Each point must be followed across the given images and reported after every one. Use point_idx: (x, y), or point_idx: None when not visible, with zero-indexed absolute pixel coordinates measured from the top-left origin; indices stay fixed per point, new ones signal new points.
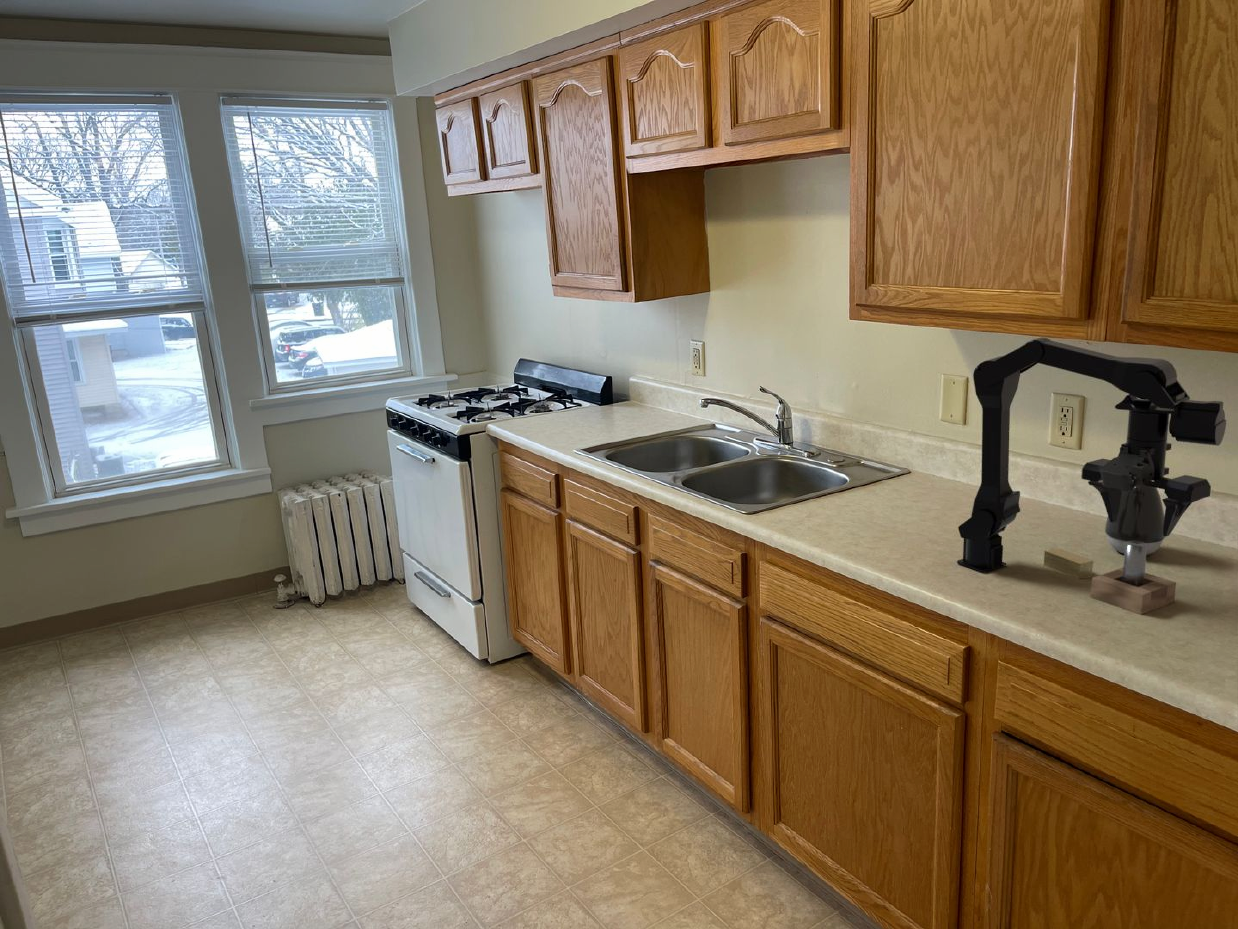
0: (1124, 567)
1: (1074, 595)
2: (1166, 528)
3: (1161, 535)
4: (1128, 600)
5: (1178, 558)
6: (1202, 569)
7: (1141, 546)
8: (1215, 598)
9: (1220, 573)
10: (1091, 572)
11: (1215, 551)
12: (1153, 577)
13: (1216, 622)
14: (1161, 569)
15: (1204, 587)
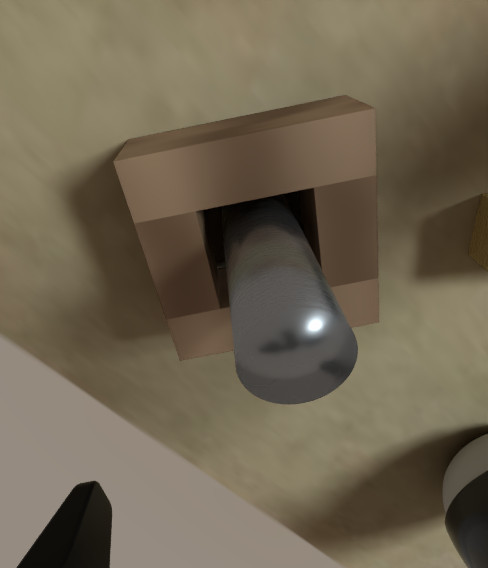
0: (292, 240)
1: (395, 45)
2: (33, 554)
3: (453, 536)
4: (181, 136)
5: (393, 498)
6: (317, 496)
7: (250, 356)
8: (161, 414)
9: (279, 507)
10: (477, 257)
11: (371, 562)
12: None
13: (5, 307)
14: (372, 435)
15: (231, 438)
